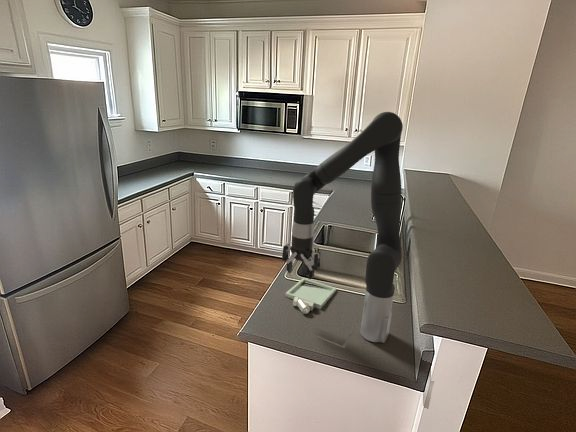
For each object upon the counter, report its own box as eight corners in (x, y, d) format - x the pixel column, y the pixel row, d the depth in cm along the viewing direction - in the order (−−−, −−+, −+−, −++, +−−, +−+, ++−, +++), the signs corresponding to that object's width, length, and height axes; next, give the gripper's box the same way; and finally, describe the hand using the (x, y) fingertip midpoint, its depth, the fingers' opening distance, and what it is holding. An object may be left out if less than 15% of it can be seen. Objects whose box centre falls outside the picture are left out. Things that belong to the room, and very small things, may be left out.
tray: (336, 292, 145) (336, 288, 145) (320, 309, 132) (320, 305, 131) (303, 281, 153) (303, 277, 152) (285, 297, 139) (285, 293, 139)
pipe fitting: (308, 317, 127) (314, 309, 133) (310, 308, 126) (315, 300, 132) (289, 311, 130) (295, 303, 136) (290, 302, 129) (296, 294, 135)
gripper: (325, 235, 118) (321, 276, 123) (290, 226, 125) (288, 266, 130) (316, 241, 112) (312, 285, 117) (279, 232, 118) (277, 273, 123)
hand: (299, 275), depth 123 cm, fingers open, 8 cm apart
